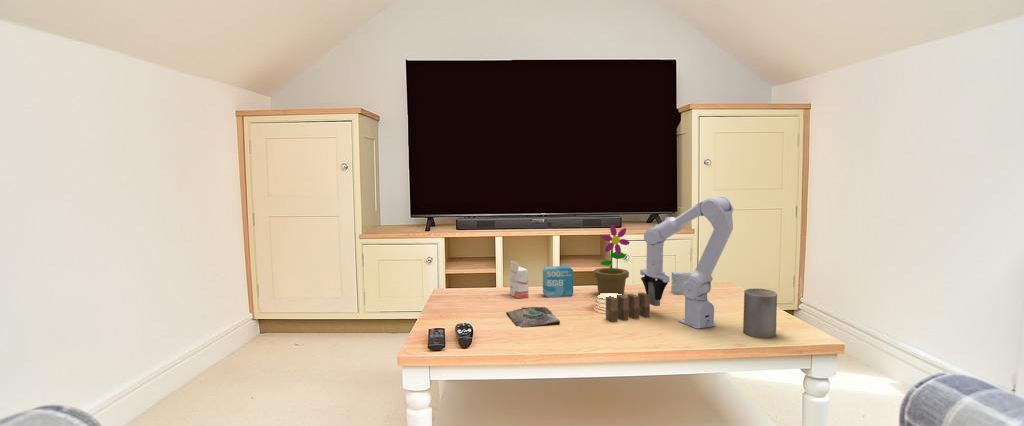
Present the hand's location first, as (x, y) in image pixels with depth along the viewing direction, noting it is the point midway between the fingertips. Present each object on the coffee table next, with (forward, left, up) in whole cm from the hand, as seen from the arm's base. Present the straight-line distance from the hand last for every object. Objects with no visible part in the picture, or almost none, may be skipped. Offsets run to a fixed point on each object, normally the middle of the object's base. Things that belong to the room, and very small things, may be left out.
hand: (654, 297), depth 198 cm
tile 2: (0, +4, -6) cm, 8 cm away
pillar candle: (-32, -17, -6) cm, 37 cm away
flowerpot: (+30, -1, -6) cm, 31 cm away
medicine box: (+21, -30, -6) cm, 37 cm away
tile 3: (0, +9, -6) cm, 11 cm away
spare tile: (0, 0, -2) cm, 2 cm away
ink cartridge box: (+45, +34, -6) cm, 57 cm away
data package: (+39, +19, -6) cm, 44 cm away
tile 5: (0, +18, -6) cm, 19 cm away
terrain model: (+14, +42, -7) cm, 45 cm away
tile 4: (0, +13, -6) cm, 15 cm away
